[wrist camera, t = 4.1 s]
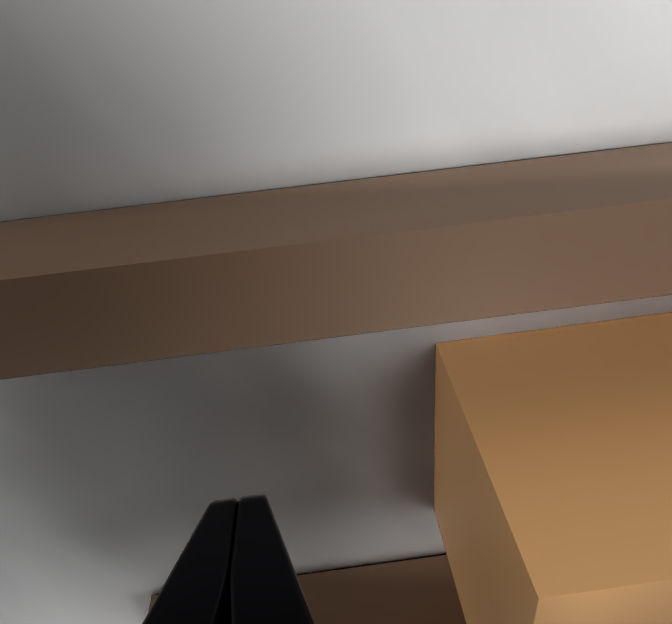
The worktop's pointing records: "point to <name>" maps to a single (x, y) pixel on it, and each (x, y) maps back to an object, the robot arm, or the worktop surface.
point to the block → (558, 472)
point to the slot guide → (338, 286)
